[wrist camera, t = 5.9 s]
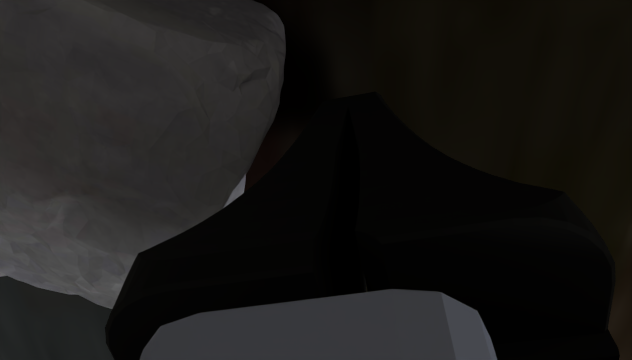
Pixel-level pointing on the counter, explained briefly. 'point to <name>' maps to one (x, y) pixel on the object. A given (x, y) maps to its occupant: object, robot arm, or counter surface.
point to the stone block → (125, 128)
